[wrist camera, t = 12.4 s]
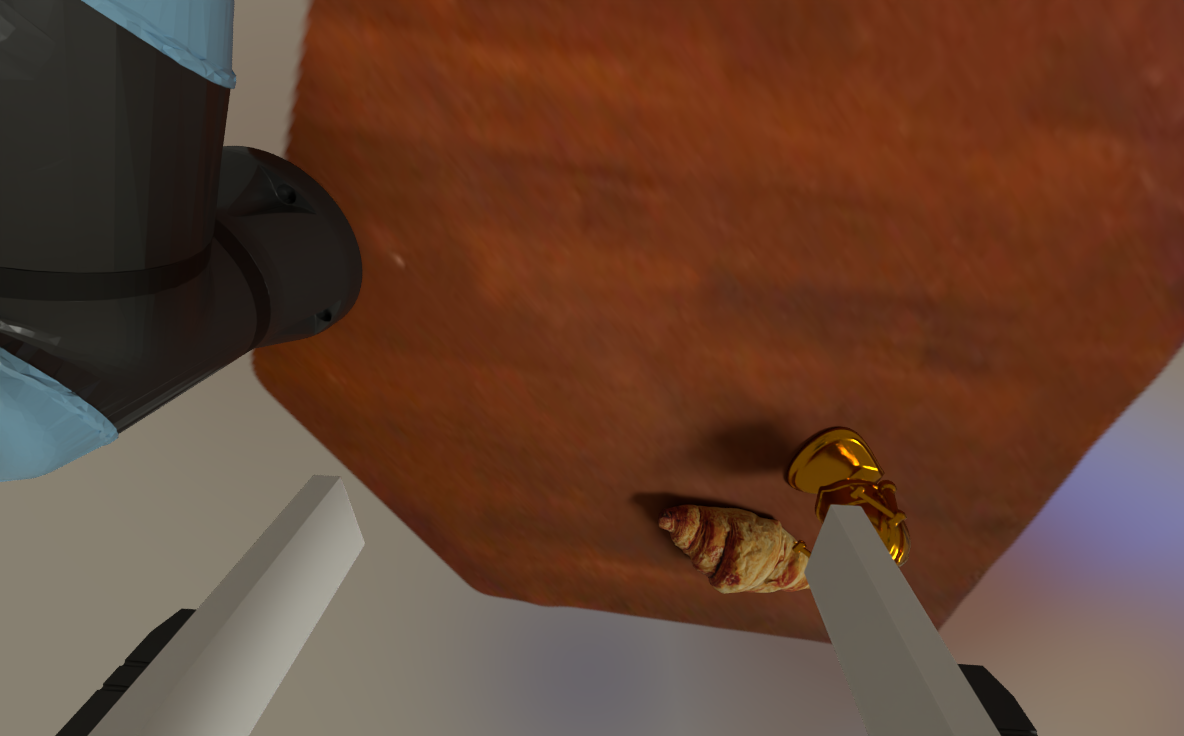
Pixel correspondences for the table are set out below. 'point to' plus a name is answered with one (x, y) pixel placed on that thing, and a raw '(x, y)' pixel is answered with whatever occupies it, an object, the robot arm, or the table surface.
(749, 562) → the croissant
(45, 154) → the robot arm
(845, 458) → the figurine
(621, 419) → the table surface
